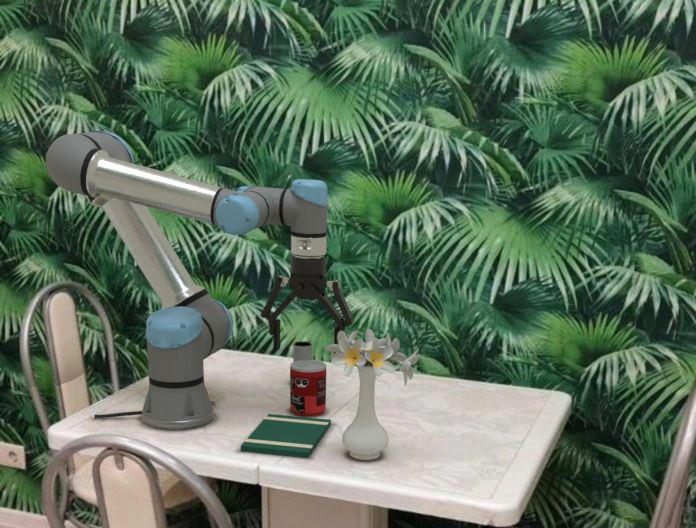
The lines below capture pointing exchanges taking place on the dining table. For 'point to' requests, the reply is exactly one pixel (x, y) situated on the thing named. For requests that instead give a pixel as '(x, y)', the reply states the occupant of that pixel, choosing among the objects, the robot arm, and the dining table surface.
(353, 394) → the dining table surface
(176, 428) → the robot arm
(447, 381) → the dining table surface
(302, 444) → the towel
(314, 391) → the canned food
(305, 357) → the grey cylinder
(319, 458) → the dining table surface
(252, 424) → the dining table surface
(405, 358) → the flower vase
